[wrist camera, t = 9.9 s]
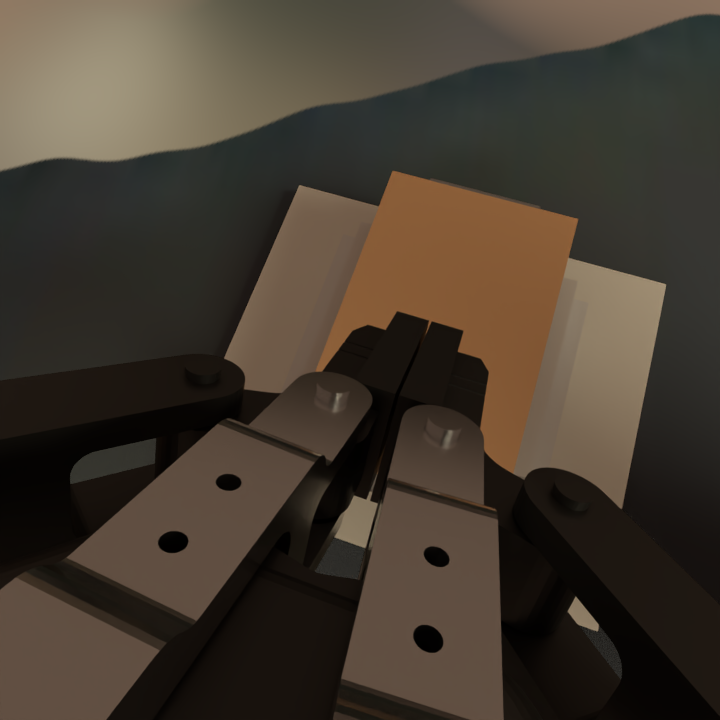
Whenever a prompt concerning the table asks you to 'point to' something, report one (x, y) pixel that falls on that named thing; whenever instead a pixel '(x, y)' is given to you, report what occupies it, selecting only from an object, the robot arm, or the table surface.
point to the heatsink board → (557, 372)
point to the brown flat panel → (465, 287)
